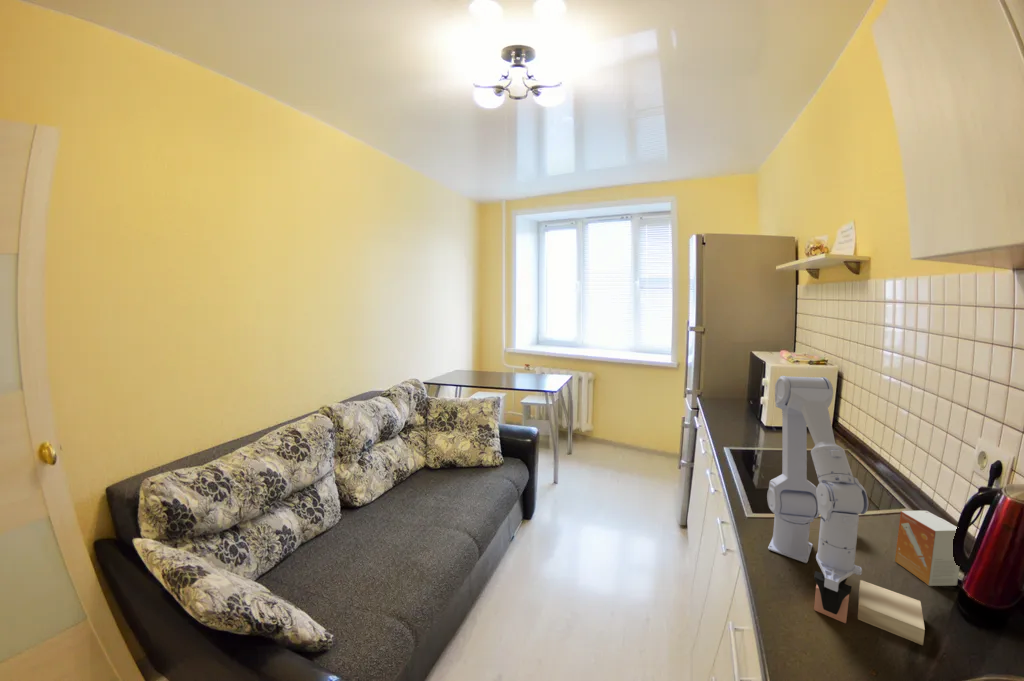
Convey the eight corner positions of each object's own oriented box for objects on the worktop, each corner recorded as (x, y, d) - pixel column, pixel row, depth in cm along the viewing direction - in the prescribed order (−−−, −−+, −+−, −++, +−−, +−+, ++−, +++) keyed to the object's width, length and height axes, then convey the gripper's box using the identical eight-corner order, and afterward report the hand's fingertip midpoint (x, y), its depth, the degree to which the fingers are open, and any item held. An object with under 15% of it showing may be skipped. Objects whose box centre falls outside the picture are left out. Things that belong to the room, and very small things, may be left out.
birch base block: (858, 594, 85) (860, 579, 85) (918, 617, 79) (920, 601, 79) (857, 620, 79) (859, 604, 78) (922, 647, 73) (924, 629, 72)
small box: (893, 561, 95) (899, 510, 93) (920, 561, 95) (926, 509, 93) (928, 586, 87) (935, 530, 85) (958, 586, 87) (965, 530, 85)
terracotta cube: (817, 596, 85) (819, 574, 84) (847, 608, 81) (850, 585, 81) (813, 610, 81) (815, 587, 80) (846, 623, 78) (848, 600, 77)
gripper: (862, 568, 71) (855, 636, 73) (865, 532, 82) (859, 592, 84) (813, 551, 76) (807, 616, 78) (822, 519, 87) (817, 576, 88)
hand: (831, 602), depth 81 cm, fingers closed on terracotta cube, 5 cm apart
